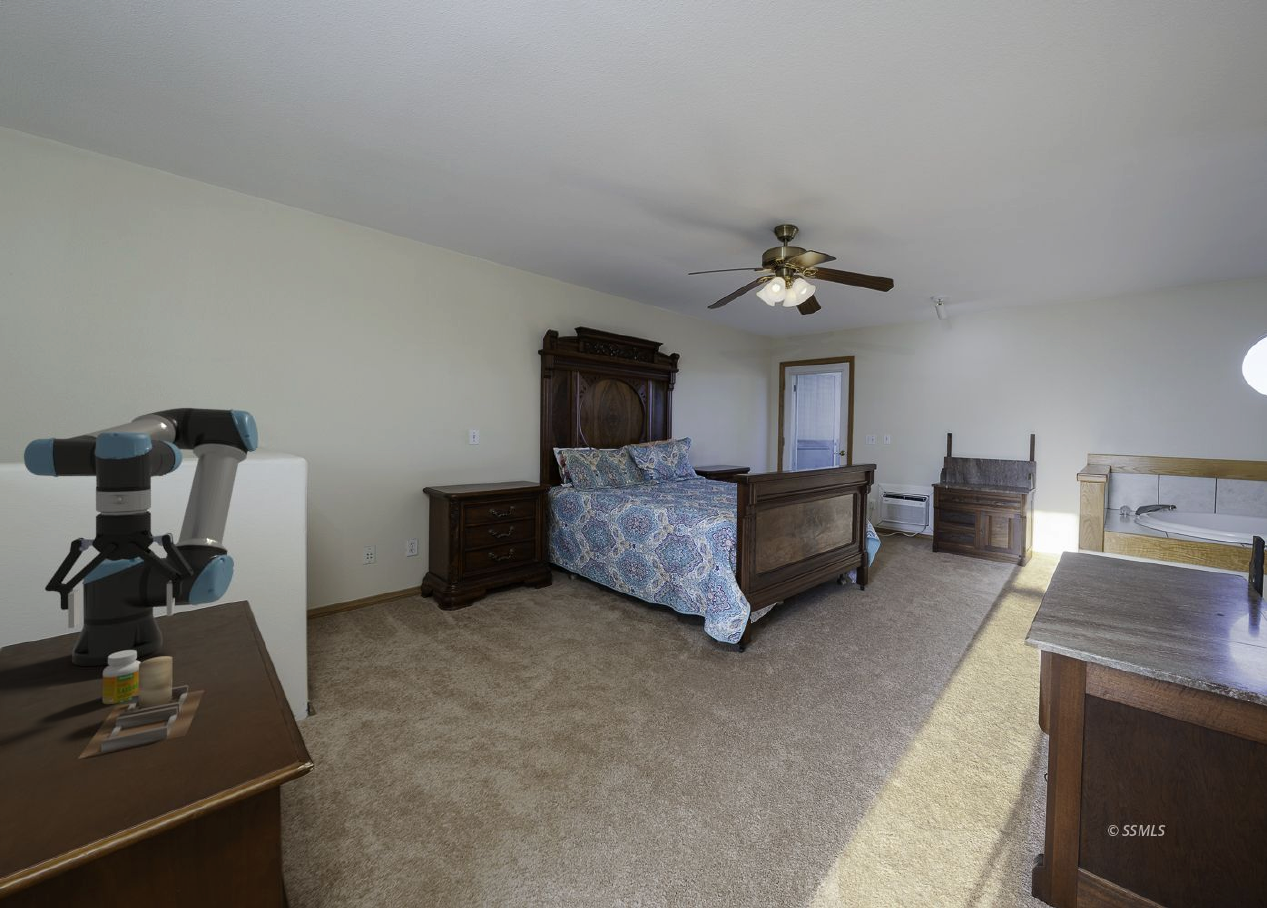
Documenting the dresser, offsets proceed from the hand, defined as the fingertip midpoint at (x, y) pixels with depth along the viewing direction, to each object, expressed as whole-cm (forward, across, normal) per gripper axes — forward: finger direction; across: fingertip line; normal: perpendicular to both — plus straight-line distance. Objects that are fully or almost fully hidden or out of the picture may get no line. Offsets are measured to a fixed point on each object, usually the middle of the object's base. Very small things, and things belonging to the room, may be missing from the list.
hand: (124, 619), depth 98 cm
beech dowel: (+15, +6, -9) cm, 19 cm away
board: (+16, +6, -13) cm, 22 cm away
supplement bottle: (+17, 0, 0) cm, 17 cm away
